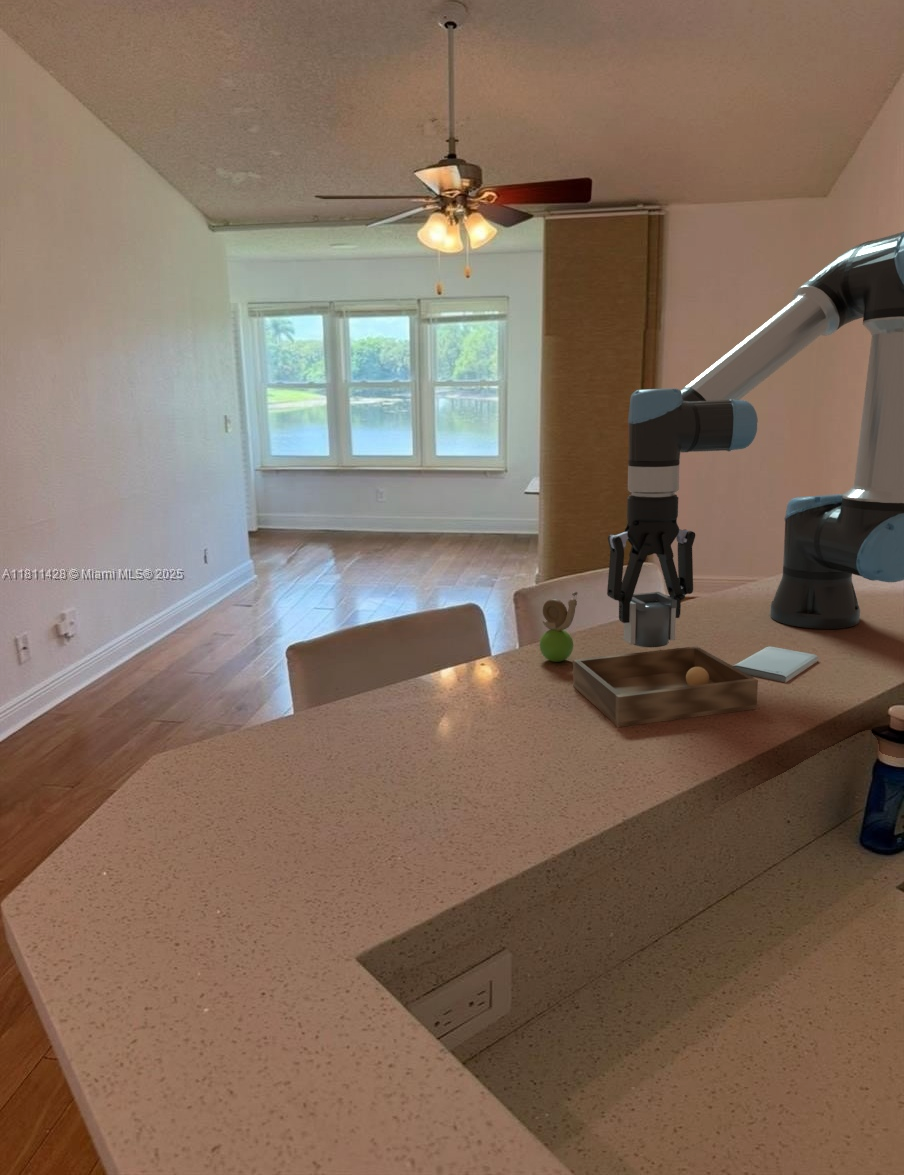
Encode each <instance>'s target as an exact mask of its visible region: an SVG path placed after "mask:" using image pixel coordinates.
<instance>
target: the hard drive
mask: <svg viewBox="0 0 904 1175" xmlns="http://www.w3.org/2000/svg"><path fill="white" fill-rule="evenodd" d="M818 660H819V656H818V655H816V654H814V653H809V652H803V651H797V650H791V649H788V648H781V647H776V646H775V647H774V646H766V647H764V648H762V649H761V650H759V651H757V652H755V653H753V654H752V655H750V656H748V657H746V658H744V659H742V660H741V661H740V662H739V661H738V663H735V664H733V665H732V666H733V667H735V668H737V669H739V670H741V671H742V672H744V673H746V674H748V675H750V676H752V677H753V676H754V677H758V678H762V679H768V680H772V681H776V682H777V681H778V682H781V683H787V682H789V681H790V680H792V679H794V678H795V677H796V676H799V675H800V674H801V673H802V672H804V671H805V670H807V669H808V668H810V667H811V666H813V665H814V664H816V663H817V662H818Z"/></svg>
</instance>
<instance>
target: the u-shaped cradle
mask: <svg viewBox="0 0 904 1175" xmlns="http://www.w3.org/2000/svg"><path fill="white" fill-rule="evenodd" d="M631 601H632V602H634V603H636V630H635V644H632V645H634V646H637V647H642V648H661V647H666V646H668V644H669V642H670V640H669V613H670V608H677V600H675V599H673V598H671V597H670V595H667V594H664V593H663V592H660V591H653V592H642V593H634V594H633V597H632V600H631Z"/></svg>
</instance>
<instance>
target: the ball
mask: <svg viewBox="0 0 904 1175" xmlns="http://www.w3.org/2000/svg"><path fill="white" fill-rule="evenodd" d="M686 681H687V683H688V685H689V686H694V685H702V684H708V682H709V674H708V672H707V671H706V670H705V669H704V668H702V667H693V668H691V669H690V670H689V671H688V672H687V674H686Z"/></svg>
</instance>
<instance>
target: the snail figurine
mask: <svg viewBox="0 0 904 1175" xmlns="http://www.w3.org/2000/svg"><path fill="white" fill-rule="evenodd" d="M571 594H572V596H573V597H576V596H577V595H578V592H577V591H573V592H572V593H571ZM577 602H578V601H577V598H570V599H568V602H567V604H568V609H567V606H566V605H565V604H564V603H563V602H562V601H561V600H559V599H557V598H551V599H550V598H549V599H547V601H545V603H543V606H542V615H543V618H544V619H545V620H543V621H542V624H543V625H544V626H545V627H546V628H547V629H548V630H547V631H545V633H543V635H542V636H541V638H540V640H539V650H540V652H541V654H542V656H543V657H544V658H545V659H546V660H547V661H550V662H553V663H559V662H563V661H565V660H566V659H568V658H569V657H570V656H571V655H572V653H573V650H574V640H573V638H572V636H571V635H570V633H569V632H567V631H566V630H567V629H568V628H570V626H571V624H572V623H573V621H574V618H575V614H576V608H577V607H576V606H577Z"/></svg>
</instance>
